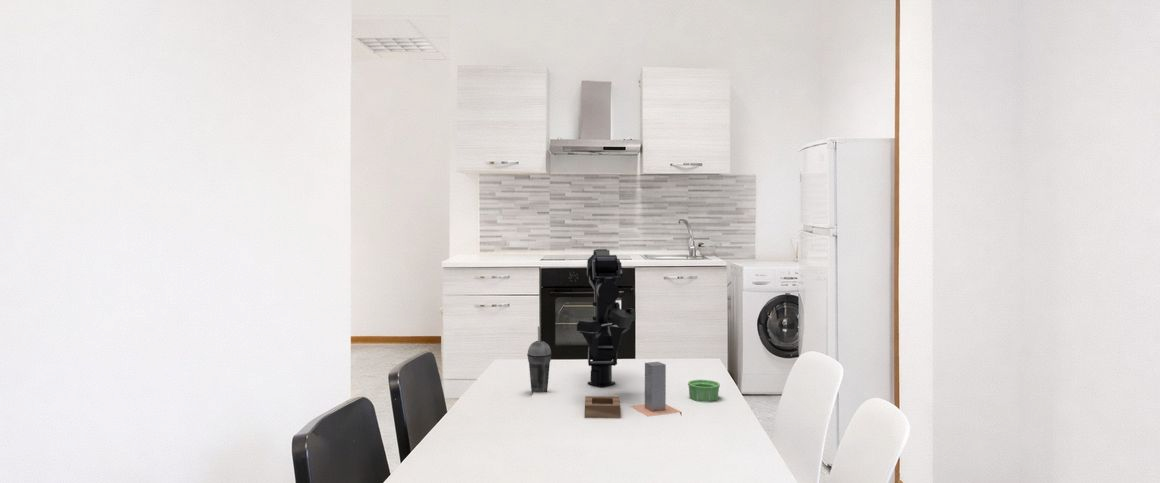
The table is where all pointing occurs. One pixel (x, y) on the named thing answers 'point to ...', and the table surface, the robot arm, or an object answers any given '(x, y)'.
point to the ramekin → (703, 390)
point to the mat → (648, 413)
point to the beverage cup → (539, 364)
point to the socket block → (602, 407)
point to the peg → (655, 386)
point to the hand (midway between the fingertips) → (605, 353)
